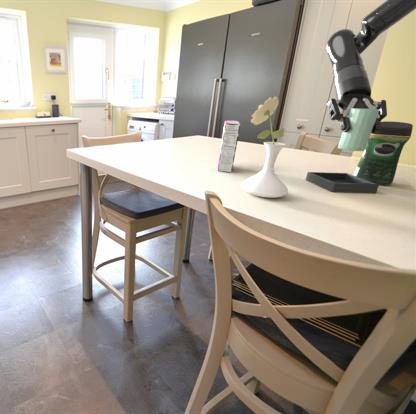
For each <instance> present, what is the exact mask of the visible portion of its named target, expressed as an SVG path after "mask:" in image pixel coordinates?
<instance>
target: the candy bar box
mask: <svg viewBox="0 0 416 414" xmlns="http://www.w3.org/2000/svg"><path fill="white" fill-rule="evenodd" d="M240 129H241V123H240V121H239V120H224V124H223V130H222V135H221V141H220V142H221V143H220V148H219V154H218V162H217V172H220V173H221V172H222V173H233V167H234V162H235V157H236V151H237V146H238V141H239V136H240V135H239V134H240Z"/></svg>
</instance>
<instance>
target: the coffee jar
mask: <svg viewBox="0 0 416 414" xmlns="http://www.w3.org/2000/svg"><path fill="white" fill-rule="evenodd" d="M380 126H381V128H380V129H379V130H378V131H377V132H376V133H375V134H371V135H370V137H369V140H368V143H367V145H366V148H365V150H364V151H362V155H361V156H360V159H359V160H358V163H357V165H356V167H355V169H354V172H353V174H352V175H353V176H356V177H359V178H362V179H365V180H368V181H370V182H373V183H376V184H379V186H380V185H381V186H383V185H384V186H387V185H388V186H389V185H391V184H393V182H394V179H395V176H396V172H397V169H398V166H399V165H398V164H399V160H400V157H401V154H402V151H403V149H404V146H405V145H406V144H407V143H408V142H409V141H410V139H411V137H412V133H413V127H414V126H413V124H412V123H409V122H402V121H391V120H389V121H387V120H386V121H380Z"/></svg>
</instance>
